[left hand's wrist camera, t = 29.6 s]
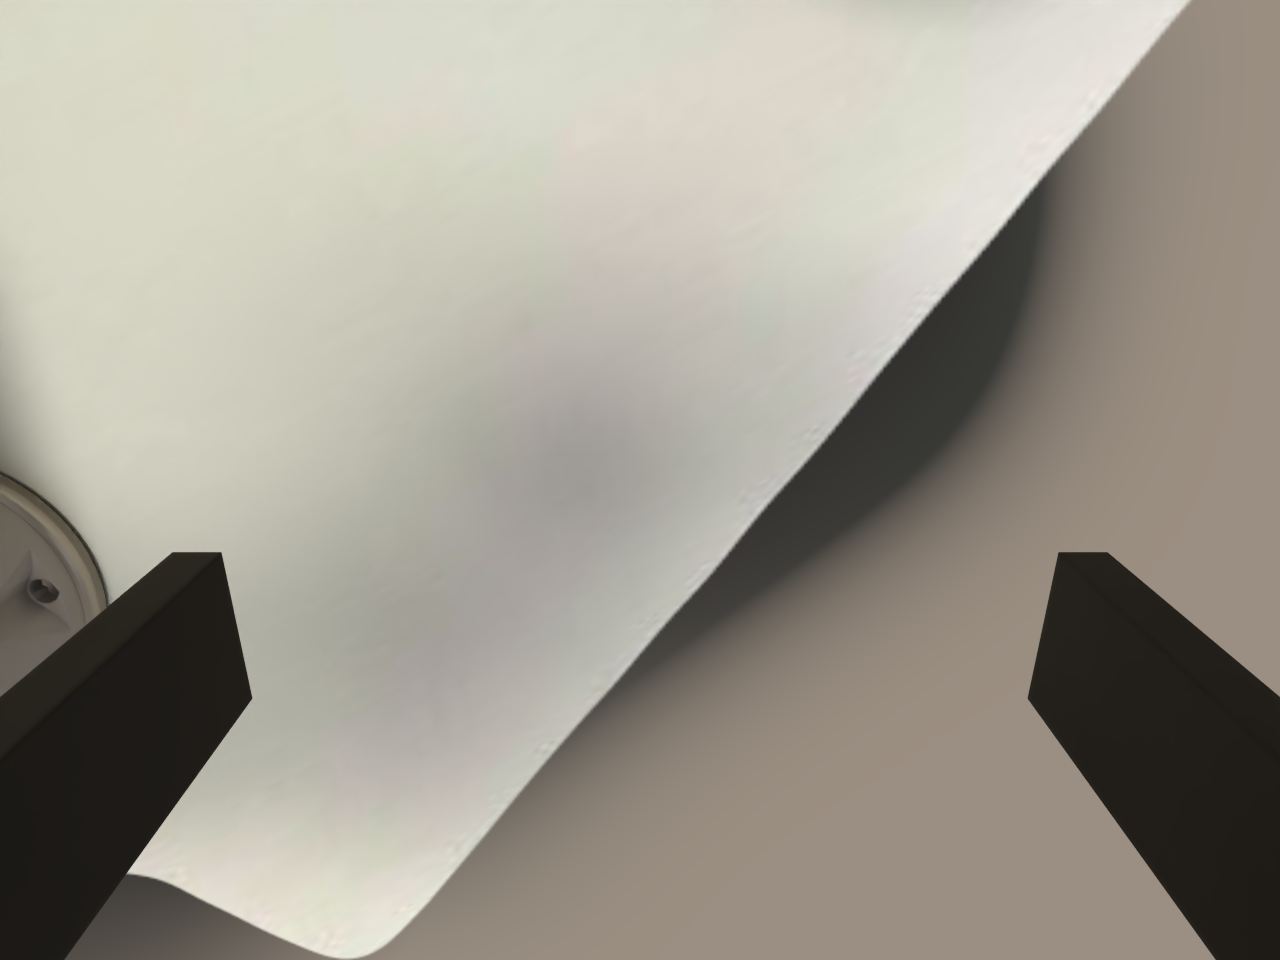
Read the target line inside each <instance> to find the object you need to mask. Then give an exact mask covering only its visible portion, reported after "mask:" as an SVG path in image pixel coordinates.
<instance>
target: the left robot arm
mask: <svg viewBox="0 0 1280 960" xmlns="http://www.w3.org/2000/svg"><path fill="white" fill-rule="evenodd" d="M251 700H252V695H251V690H250V685H249V680H248V676H247V671H246V666H245V661H244V657H243V652H242V647H241V643H240V638H239V633H238V628H237V624H236V619H235V614H234V609H233V605H232V600H231V595H230V591H229V586H228V581H227V576H226V572H225V567H224V562H223V557H222V553H221V552H172V553H171V554H170V555H169V556H168V557H166V558H165V559H164V560H163V561H162V562H160V563H159V564H158V565H157V566H156V567H155V568H153V569H152V570H151V571H150V572H149V573H147V574H146V575H145V576H144V577H143V578H141V579H140V580H139V581H138V582H137V583H135V584H134V585H133V586H132V587H131V588H129V589H128V590H127V591H126V592H125V593H124V594H122V595H121V596H120V597H119V598H118V599H116V600H115V601H114V602H113V603H112V604H110V605H109V606H108V607H106V599H105V594H104V589H103V586H102V583H101V580H100V577H99V575H98V572H97V570H96V567H95V565H94V563H93V561H92V560H91V558H90V556H89V554H88V552H87V551H86V549H85V548H84V546H83V545H82V543H81V541H80V540H79V539H78V537H77V536H76V535H75V534H74V532H73V531H72V530H71V528H70V527H69V526H68V525H67V524H66V523H65V522H64V521H63V520H62V519H61V518H60V516H58V515H57V514H56V513H55V512H54V511H53V510H52V509H51V508H50V507H49V506H48V505H46V504H45V503H44V502H43V501H41V500H40V499H39V498H38V497H36V496H35V495H34V494H32V493H31V492H29V491H28V490H27V489H25V488H24V487H22V486H21V485H19V484H17V483H15V482H14V481H12V480H10V479H9V478H7V477H5V476H3V475H1V474H0V960H64V959H65V958H66V957H67V955H68V954H69V952H70V951H71V950H72V948H73V947H74V945H75V944H76V943H77V941H78V940H79V938H80V937H81V936H82V934H83V933H84V932H85V930H86V929H87V927H88V926H89V925H90V923H91V922H92V920H93V919H94V918H95V916H96V915H97V913H98V912H99V911H100V909H101V908H102V907H103V905H104V904H105V902H106V901H107V900H108V898H109V897H110V895H111V894H112V893H113V891H114V890H115V888H116V887H117V886H118V884H119V883H120V882H121V880H122V879H123V877H124V876H125V875H126V873H127V872H128V870H129V869H130V868H131V866H132V865H133V864H134V862H135V861H136V859H137V858H138V857H139V855H140V854H141V852H142V851H143V850H144V848H145V847H146V845H147V844H148V843H149V841H150V840H151V839H152V837H153V836H154V834H155V833H156V832H157V830H158V829H159V827H160V826H161V825H162V823H163V822H164V820H165V819H166V818H167V816H168V815H169V814H170V812H171V811H172V809H173V808H174V807H175V805H176V804H177V802H178V801H179V800H180V798H181V797H182V795H183V794H184V793H185V791H186V790H187V789H188V787H189V786H190V784H191V783H192V782H193V780H194V779H195V777H196V776H197V775H198V773H199V772H200V770H201V769H202V768H203V766H204V765H205V764H206V762H207V761H208V759H209V758H210V757H211V755H212V754H213V752H214V751H215V750H216V748H217V747H218V745H219V744H220V743H221V741H222V740H223V739H224V737H225V736H226V734H227V733H228V732H229V730H230V729H231V727H232V726H233V725H234V723H235V722H236V720H237V719H238V718H239V716H240V715H241V714H242V712H243V711H244V709H245V708H246V707H247V705H248V704H249V702H250V701H251ZM1028 700H1029V701H1030V702H1031V704H1032V705H1033V707H1034V708H1035V709H1036V711H1037V712H1038V714H1039V715H1040V716H1041V718H1042V719H1043V720H1044V722H1045V723H1046V725H1047V726H1048V727H1049V729H1050V730H1051V732H1052V733H1053V734H1054V736H1055V737H1056V739H1057V740H1058V741H1059V743H1060V744H1061V745H1062V747H1063V748H1064V750H1065V751H1066V752H1067V754H1068V755H1069V757H1070V758H1071V759H1072V761H1073V762H1074V764H1075V765H1076V766H1077V768H1078V769H1079V770H1080V772H1081V773H1082V775H1083V776H1084V777H1085V779H1086V780H1087V782H1088V783H1089V784H1090V786H1091V787H1092V789H1093V790H1094V791H1095V793H1096V794H1097V795H1098V797H1099V798H1100V800H1101V801H1102V802H1103V804H1104V805H1105V807H1106V808H1107V809H1108V811H1109V812H1110V814H1111V815H1112V816H1113V818H1114V819H1115V820H1116V822H1117V823H1118V825H1119V826H1120V827H1121V829H1122V830H1123V832H1124V833H1125V834H1126V836H1127V837H1128V839H1129V840H1130V841H1131V843H1132V844H1133V845H1134V847H1135V848H1136V850H1137V851H1138V852H1139V854H1140V855H1141V857H1142V858H1143V859H1144V861H1145V862H1146V864H1147V865H1148V866H1149V868H1150V869H1151V870H1152V872H1153V873H1154V875H1155V876H1156V877H1157V879H1158V880H1159V882H1160V883H1161V884H1162V886H1163V887H1164V888H1165V890H1166V891H1167V893H1168V894H1169V895H1170V897H1171V898H1172V900H1173V901H1174V902H1175V904H1176V905H1177V907H1178V908H1179V909H1180V911H1181V912H1182V913H1183V915H1184V916H1185V918H1186V919H1187V920H1188V922H1189V923H1190V925H1191V926H1192V927H1193V929H1194V930H1195V932H1196V933H1197V934H1198V936H1199V937H1200V938H1201V940H1202V941H1203V943H1204V944H1205V945H1206V947H1207V948H1208V950H1209V951H1210V952H1211V954H1212V955H1213V956H1214V958H1215V959H1216V960H1280V697H1279V696H1278V695H1277V694H1276V693H1274V692H1273V691H1272V690H1271V689H1270V688H1269V687H1267V686H1266V685H1265V684H1264V683H1263V682H1261V681H1260V680H1259V679H1258V678H1257V677H1255V676H1254V675H1253V674H1252V673H1251V672H1249V671H1248V670H1247V669H1246V668H1245V667H1243V666H1242V665H1241V664H1240V663H1239V662H1238V661H1236V660H1235V659H1234V658H1233V657H1232V656H1230V655H1229V654H1228V653H1227V652H1226V651H1224V650H1223V649H1222V648H1221V647H1220V646H1218V645H1217V644H1216V643H1215V642H1214V641H1212V640H1211V639H1210V638H1209V637H1208V636H1207V635H1205V634H1204V633H1203V632H1202V631H1201V630H1199V629H1198V628H1197V627H1196V626H1195V625H1193V624H1192V623H1191V622H1190V621H1189V620H1187V619H1186V618H1185V617H1184V616H1183V615H1181V614H1180V613H1179V612H1178V611H1177V610H1176V609H1174V608H1173V607H1172V606H1171V605H1170V604H1168V603H1167V602H1166V601H1165V600H1164V599H1162V598H1161V597H1160V596H1159V595H1158V594H1156V593H1155V592H1154V591H1153V590H1152V589H1151V588H1149V587H1148V586H1147V585H1146V584H1145V583H1143V582H1142V581H1141V580H1140V579H1139V578H1137V577H1136V576H1135V575H1134V574H1133V573H1131V572H1130V571H1129V570H1128V569H1127V568H1125V567H1124V566H1123V565H1122V564H1121V563H1120V562H1118V561H1117V560H1116V559H1115V558H1114V557H1112V556H1111V555H1110V554H1109V553H1107V552H1059V553H1058V558H1057V562H1056V567H1055V572H1054V576H1053V581H1052V586H1051V591H1050V595H1049V600H1048V605H1047V609H1046V614H1045V619H1044V624H1043V628H1042V633H1041V638H1040V643H1039V647H1038V652H1037V657H1036V661H1035V666H1034V671H1033V676H1032V680H1031V685H1030V690H1029V695H1028Z"/></svg>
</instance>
